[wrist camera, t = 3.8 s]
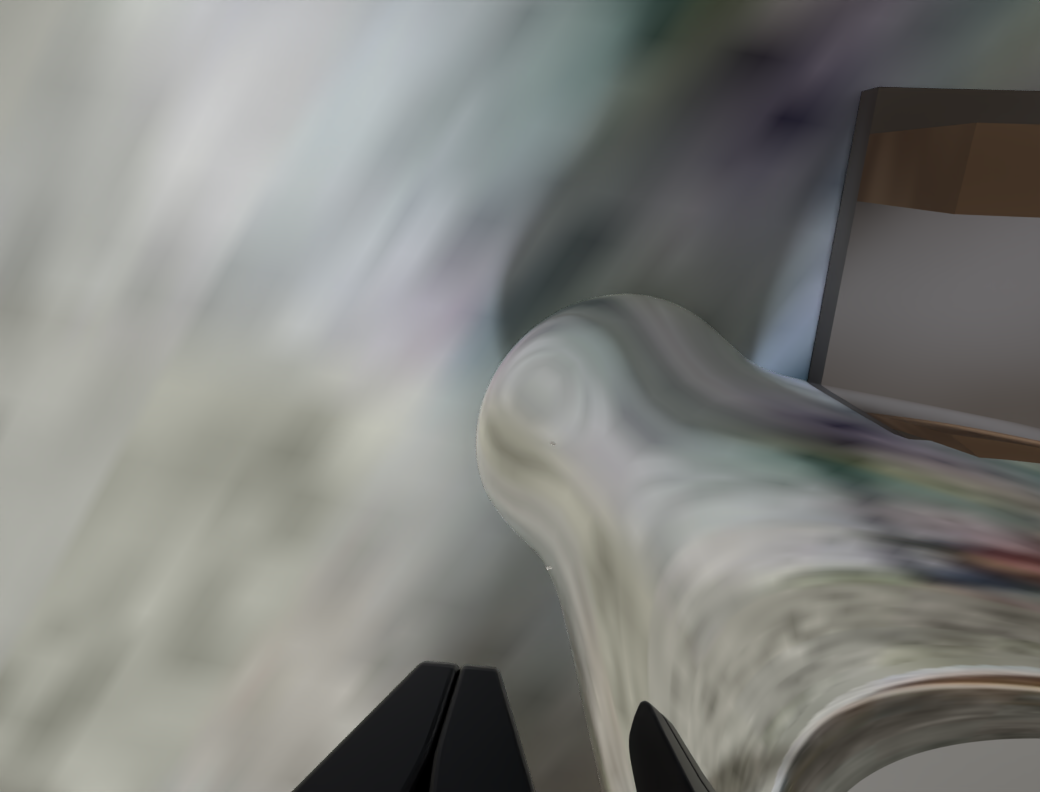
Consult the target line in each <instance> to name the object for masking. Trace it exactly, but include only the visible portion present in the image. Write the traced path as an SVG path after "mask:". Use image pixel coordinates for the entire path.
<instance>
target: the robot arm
mask: <svg viewBox="0 0 1040 792" xmlns="http://www.w3.org/2000/svg"><path fill="white" fill-rule="evenodd" d="M292 792H536V791H535V788H534V785H533V781H532V778H531V774H530V771H529V768H528V764H527V761H526V758H525V754H524V751H523V748H522V744H521V741H520V737H519V734H518V731H517V727H516V724H515V721H514V717H513V714H512V710H511V707H510V704H509V700H508V697H507V694H506V690H505V687H504V683H503V680H502V677H501V674H500V671H499V670H498V669H497V668H496V667H490V666H479V665H464V666H462V667H461V669H459V667H458V666H457V665H456V664H454V663H445V662H433V661H424V662H422V663H420V664H419V665H418V666H417V667H416V668H415V669H414V670H413V671H412V672H411V673H410V674H409V675H408V676H407V677H406V678H405V679H404V680H403V681H402V682H401V683H400V684H399V685H398V686H397V687H396V688H395V689H394V690H393V691H392V692H391V693H390V694H389V695H388V696H387V697H386V698H385V699H384V700H383V701H382V702H381V703H380V704H379V705H378V706H377V707H376V708H375V709H374V710H373V711H372V712H371V713H370V714H369V715H368V716H367V717H366V718H365V719H364V720H363V721H362V722H361V723H360V724H359V725H358V726H357V727H356V728H355V729H354V730H353V731H352V732H351V733H350V734H349V735H348V736H347V737H346V738H345V739H344V740H343V741H342V742H341V743H340V744H339V745H338V746H337V747H336V748H335V749H334V750H333V751H332V752H331V753H330V754H329V755H328V756H327V757H326V758H325V759H324V760H323V761H322V762H321V763H320V764H319V765H318V766H317V767H316V768H315V769H314V770H313V771H312V772H311V773H310V774H309V775H308V776H307V777H306V778H305V779H304V780H303V781H302V782H301V783H300V784H299V785H298V786H297V787H296V788H295V789H294V790H293V791H292Z"/></svg>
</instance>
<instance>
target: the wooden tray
mask: <svg viewBox="0 0 1040 792" xmlns="http://www.w3.org/2000/svg"><path fill="white" fill-rule="evenodd" d="M808 381H809V382H814V383H818V384H823V385H827V386H832V387H838V388H843V389H848V390H854V391H859V392H864V393H870V394H875V395H881V396H886V397H891V398H897V399H902V400H907V401H912V402H917V403H922V404H927V405H932V406H937V407H942V408H947V409H952V410H957V411H962V412H967V413H972V414H976V415H981V416H986V417H991V418H996V419H1001V420H1006V421H1011V422H1016V423H1021V424H1026V425H1030V426H1035V427H1039V428H1040V91H1015V90H977V89H938V88H900V87H877V88H873V89H869V90H866V91H862V93H861V99H860V104H859V109H858V115H857V120H856V125H855V131H854V136H853V141H852V147H851V152H850V158H849V163H848V168H847V174H846V179H845V184H844V190H843V195H842V200H841V206H840V211H839V216H838V222H837V227H836V232H835V238H834V243H833V249H832V254H831V259H830V265H829V270H828V275H827V281H826V286H825V291H824V297H823V302H822V307H821V313H820V318H819V323H818V329H817V334H816V340H815V345H814V350H813V356H812V361H811V366H810V372H809V377H808Z"/></svg>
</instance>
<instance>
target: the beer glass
mask: <svg viewBox="0 0 1040 792" xmlns="http://www.w3.org/2000/svg"><path fill="white" fill-rule="evenodd" d="M476 458H477V465H478V470H479V475H480V478H481V481H482V484H483V487H484V489H485V492H486V494H487V496H488V497H489V499H490V501H491V503H492V504H493V506H494V507H495V509H496V510H497V512H498V513H499V514H500V516H501V517H502V518H503V519H504V521H505V522H506V523H507V524H508V525H509V526H510V527H511V528H512V529H513V530H514V532H515V533H516V534H517V535H518V536H519V537H520V538H521V539H522V540H523V541H524V542H525V543H526V544H528V545H529V546H530V547H531V548H532V549H533V550H534V551H535V552H536V553H537V554H538V555H539V556H540V558H541V560H542V562H543V563H544V565H545V567H546V569H547V570H548V572H549V575H550V577H551V580H552V582H553V585H554V587H555V590H556V592H557V595H558V598H559V602H560V606H561V610H562V614H563V618H564V622H565V626H566V630H567V634H568V638H569V643H570V647H571V652H572V657H573V662H574V667H575V672H576V676H577V681H578V686H579V691H580V696H581V700H582V705H583V710H584V715H585V719H586V724H587V728H588V733H589V737H590V742H591V746H592V751H593V755H594V760H595V764H596V768H597V773H598V777H599V782H600V786H601V791H602V792H1040V428H1039V427H1035V426H1030V425H1026V424H1021V423H1016V422H1011V421H1006V420H1001V419H996V418H991V417H986V416H981V415H976V414H972V413H967V412H962V411H957V410H952V409H947V408H942V407H937V406H932V405H927V404H922V403H917V402H912V401H907V400H902V399H897V398H891V397H886V396H881V395H875V394H870V393H864V392H859V391H854V390H848V389H843V388H838V387H832V386H827V385H823V384H818V383H814V382H809V381H805V380H801V379H796V378H792V377H787V376H784V375H781V374H778V373H776V372H773V371H770V370H768V369H765V368H763V367H760V366H759V365H757V364H755V363H753V362H751V361H750V360H748V359H747V358H746V357H744V356H743V355H742V354H741V353H740V352H739V351H737V350H736V349H735V348H734V347H733V346H732V345H731V344H730V343H729V342H728V341H727V340H726V339H725V338H724V337H722V336H721V335H720V334H719V333H718V332H717V331H716V330H715V329H714V328H712V327H711V326H710V325H709V324H707V323H706V322H705V321H704V320H702V319H701V318H700V317H698V316H697V315H695V314H694V313H692V312H690V311H689V310H687V309H685V308H683V307H681V306H679V305H677V304H675V303H673V302H670V301H667V300H664V299H661V298H657V297H653V296H648V295H641V294H612V295H604V296H598V297H593V298H589V299H586V300H583V301H580V302H577V303H574V304H572V305H569V306H567V307H565V308H563V309H561V310H559V311H557V312H555V313H553V314H551V315H550V316H548V317H547V318H545V319H544V320H542V321H541V322H539V323H538V324H537V325H535V326H534V327H533V328H532V329H530V330H529V331H528V332H527V333H526V334H525V335H524V336H523V337H522V338H521V339H520V340H519V341H518V342H517V343H516V344H515V345H514V346H513V347H512V348H511V349H510V351H509V352H508V353H507V354H506V356H505V357H504V358H503V360H502V361H501V363H500V364H499V366H498V367H497V369H496V371H495V372H494V374H493V376H492V378H491V380H490V382H489V384H488V387H487V389H486V391H485V394H484V397H483V400H482V403H481V407H480V410H479V415H478V421H477V428H476Z"/></svg>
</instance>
